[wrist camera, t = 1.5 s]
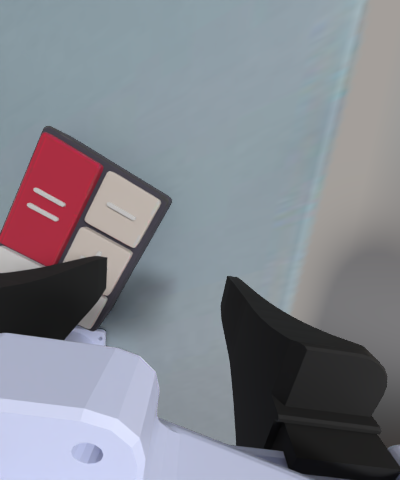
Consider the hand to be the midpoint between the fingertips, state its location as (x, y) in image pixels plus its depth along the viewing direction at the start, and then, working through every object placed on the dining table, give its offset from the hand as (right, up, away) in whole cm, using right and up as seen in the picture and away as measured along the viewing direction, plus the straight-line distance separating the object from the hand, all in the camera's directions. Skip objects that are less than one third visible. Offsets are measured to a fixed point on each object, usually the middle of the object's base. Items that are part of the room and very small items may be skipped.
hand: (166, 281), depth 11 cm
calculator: (-9, +3, +9) cm, 13 cm away
